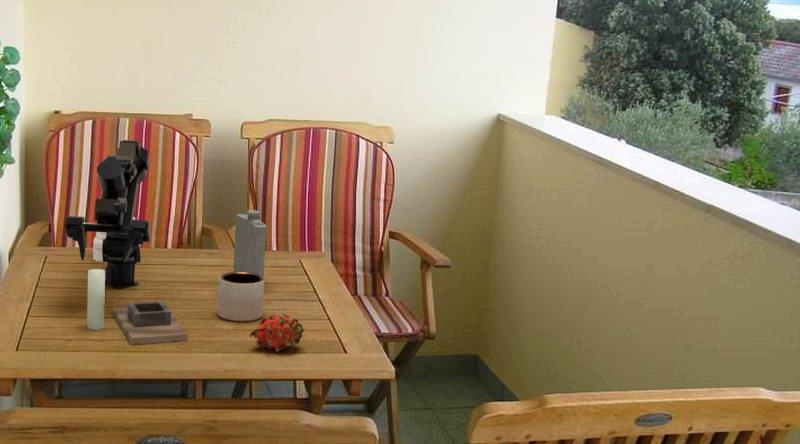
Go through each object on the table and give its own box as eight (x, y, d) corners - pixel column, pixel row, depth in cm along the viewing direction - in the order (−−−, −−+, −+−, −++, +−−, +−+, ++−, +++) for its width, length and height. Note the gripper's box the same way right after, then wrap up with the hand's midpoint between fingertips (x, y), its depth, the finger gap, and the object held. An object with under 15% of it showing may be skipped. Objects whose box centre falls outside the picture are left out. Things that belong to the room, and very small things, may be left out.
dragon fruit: (306, 355, 210) (253, 365, 206) (298, 324, 215) (246, 333, 212) (309, 334, 203) (253, 343, 200) (300, 302, 209) (246, 311, 205)
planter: (270, 313, 232) (272, 276, 230) (249, 325, 221) (251, 286, 219) (231, 306, 235) (233, 268, 233) (208, 317, 225) (210, 278, 223)
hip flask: (231, 276, 261) (235, 205, 256) (245, 275, 263) (249, 204, 259) (253, 292, 247) (257, 217, 243) (267, 291, 249) (272, 217, 245)
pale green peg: (97, 323, 214) (98, 268, 211) (107, 327, 212) (108, 271, 209) (83, 326, 211) (84, 270, 208) (93, 330, 209) (94, 274, 206)
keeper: (112, 313, 222) (112, 294, 221) (163, 310, 227) (164, 292, 226) (131, 345, 203) (132, 325, 202) (187, 340, 208) (188, 321, 207)
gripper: (66, 181, 217) (54, 239, 208) (150, 186, 219) (142, 244, 211) (73, 208, 226) (62, 265, 218) (153, 213, 228) (145, 269, 220)
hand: (102, 260), depth 216 cm, fingers open, 9 cm apart
